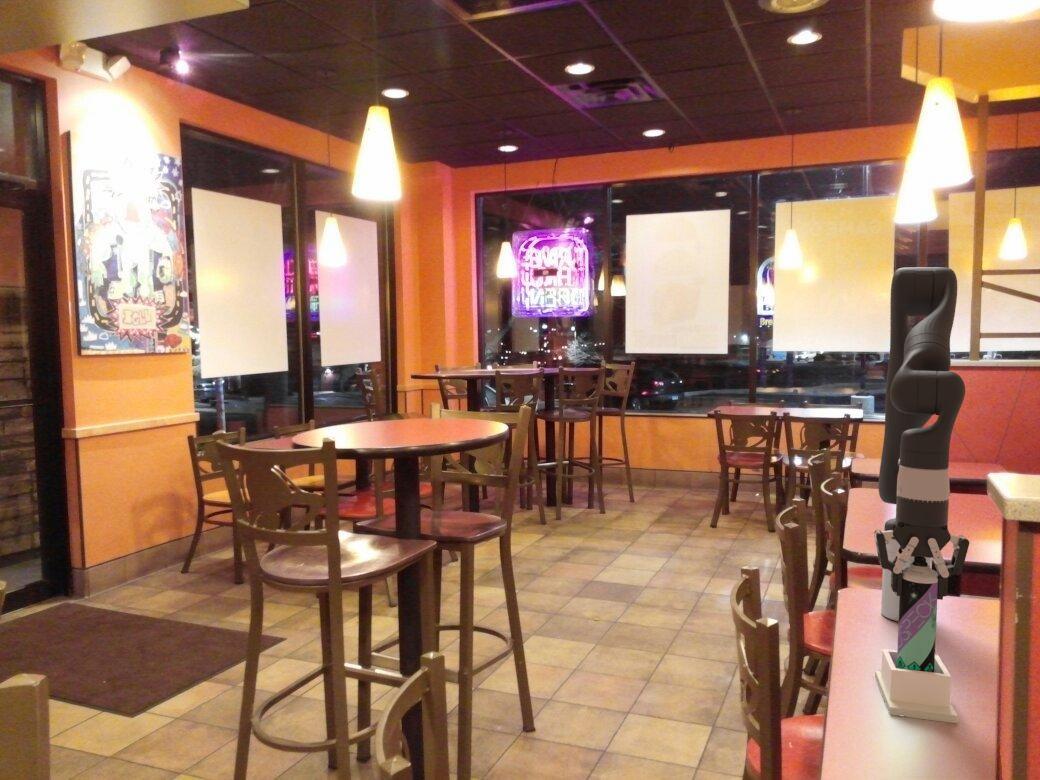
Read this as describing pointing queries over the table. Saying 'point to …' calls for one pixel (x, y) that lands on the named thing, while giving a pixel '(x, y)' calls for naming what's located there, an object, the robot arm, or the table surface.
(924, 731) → the table surface
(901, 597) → the spray can
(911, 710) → the can holder
